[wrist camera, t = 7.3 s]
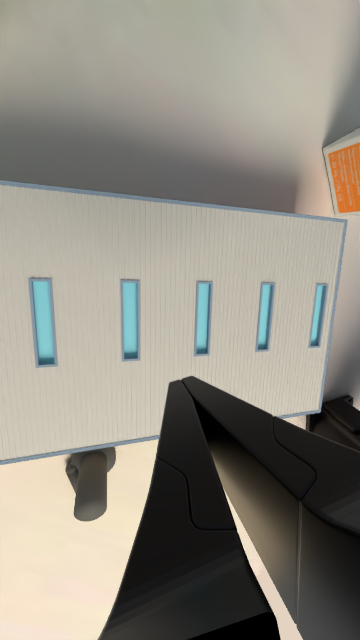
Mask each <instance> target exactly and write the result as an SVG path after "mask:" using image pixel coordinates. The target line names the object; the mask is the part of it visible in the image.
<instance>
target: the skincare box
mask: <svg viewBox="0 0 360 640" xmlns="http://www.w3.org/2000/svg"><path fill="white" fill-rule="evenodd" d="M323 153H324V157H325V161H326V167H327V172H328V177H329V182H330V188H331V194H332V200H333V205H334V212H335V216H336V217H341V216H354V215H360V127H359V128H357V129H356V130H354V131H352V132H350V133H348V134H347V135H345V136H343V137H342V138H340V139H338V140H337V141H335V142H333V143H332V144H330V145H328V146H326V147H324V148H323Z"/></svg>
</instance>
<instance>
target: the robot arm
mask: <svg viewBox="0 0 360 640" xmlns="http://www.w3.org/2000/svg"><path fill="white" fill-rule="evenodd" d="M223 488H224V489H225V491H226V493H227V495H228V497H229V499H230V501H231V503H232V505H233V507H234V509H235V510H236V512H237V514H238V516H239V518H240V520H241V522H242V524H243V526H244V528H245V529H246V531H247V533H248V535H249V537H250V539H251V541H252V543H253V545H254V547H255V549H256V550H257V552H258V554H259V556H260V558H261V560H262V562H263V564H264V566H265V568H266V569H267V571H268V573H269V575H270V577H271V579H272V581H273V583H274V584H275V586H276V589H277V590H278V592H279V594H280V596H281V598H282V600H283V602H284V604H285V605H286V608H287V609H288V611H289V613H290V615H291V617H292V619H293V621H294V623H295V624H297V629H298V631H299V632H300V634H301V636H302V638H303V640H360V411H359V410H357V409H356V408H355V407H353V397H351V396H350V395H347V396H344V397H342V398H339V399H336V400H334V401H331V402H328V403H325V404H323V405H322V406H321V412H320V413H314V414H308V415H307V430H304V429H302V428H300V427H298V426H296V425H293V424H291V423H289V422H287V421H285V420H283V419H281V418H279V417H277V416H273V415H272V414H270V413H268V412H266V411H264V410H262V409H260V408H258V407H256V406H254V405H252V404H250V403H248V402H246V401H244V400H241V399H239V398H237V397H235V396H233V395H231V394H229V393H227V392H225V391H223V390H221V389H219V388H217V387H215V386H213V385H211V384H209V383H207V382H205V381H202V380H200V379H198V378H196V377H194V376H188V377H185V378H182V379H181V380H180V379H178V380H175V381H172V382H170V383H169V385H168V391H167V396H166V402H165V408H164V413H163V419H162V425H161V430H160V436H159V442H158V447H157V453H156V460H155V464H154V469H153V474H152V479H151V484H150V488H149V493H148V496H147V500H146V504H145V507H144V511H143V514H142V518H141V521H140V524H139V527H138V530H137V534H136V537H135V540H134V543H133V546H132V550H131V553H130V556H129V559H128V562H127V566H126V569H125V572H124V575H123V578H122V582H121V585H120V588H119V591H118V594H117V597H116V600H115V602H114V605H113V608H112V610H111V613H110V615H109V617H108V620H107V622H106V624H105V626H104V628H103V630H102V632H101V634H100V636H99V638H98V640H280V635H279V630H278V624H277V620H276V617H275V615H274V613H273V611H272V609H271V607H270V605H269V603H268V601H267V599H266V597H265V595H264V593H263V591H262V589H261V587H260V585H259V583H258V581H257V579H256V576H255V574H254V572H253V570H252V568H251V566H250V564H249V561H248V559H247V556H246V554H245V551H244V548H243V546H242V543H241V540H240V537H239V534H238V532H237V528H236V525H235V522H234V519H233V516H232V513H231V510H230V507H229V504H228V501H227V498H226V495H225V492H224V489H223Z"/></svg>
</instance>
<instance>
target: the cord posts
mask: <svg viewBox="0 0 360 640" xmlns="http://www.w3.org/2000/svg"><path fill="white" fill-rule="evenodd" d="M115 460H116V454H115V449H114V447H107V448H101V449H95V450H89V451H83V452H76V453H73V454H72V457H71V463H69V464H68V465H67V467H66V473H67V475H68V478H69V480H70V482H71V484H72V486H73V489H74V491H75V493H76V498H75V506H74V516H75V518H76V519H78V520H80V521H92V520H95V519H97V518H99V517H100V516H102V515H103V514H104V513H105V511H106V508H107V472H108V471H110V470H111V468H112V467H113V466H114V464H115Z"/></svg>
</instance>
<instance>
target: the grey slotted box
mask: <svg viewBox="0 0 360 640" xmlns="http://www.w3.org/2000/svg"><path fill="white" fill-rule="evenodd" d="M346 227H347V220H346V219H337V218H329V217H320V216H311V215H302V214H294V213H285V212H276V211H267V210H259V209H250V208H241V207H232V206H224V205H215V204H206V203H197V202H189V201H180V200H171V199H162V198H153V197H145V196H136V195H127V194H118V193H110V192H101V191H92V190H83V189H75V188H66V187H57V186H48V185H40V184H31V183H22V182H13V181H5V180H0V465H3V464H10V463H16V462H22V461H28V460H34V459H40V458H46V457H52V456H58V455H64V454H70V453H76V452H83V451H89V450H95V449H101V448H107V447H113V446H119V445H125V444H131V443H137V442H143V441H150V440H156V439H159V436H160V430H161V425H162V419H163V413H164V408H165V402H166V396H167V391H168V385H169V383H170V382H172V381H175V380H178V379H180V380H181V379H182V378H185V377H188V376H194V377H196V378H198V379H200V380H202V381H205V382H207V383H209V384H211V385H213V386H215V387H217V388H219V389H221V390H223V391H225V392H227V393H229V394H231V395H233V396H235V397H237V398H239V399H241V400H244V401H246V402H248V403H250V404H252V405H254V406H256V407H258V408H260V409H262V410H264V411H266V412H268V413H270V414H272V415H273V416H277V417H279V418H281V419H283V418H289V417H296V416H302V415H308V414H314V413H320V412H321V406H322V399H323V392H324V384H325V377H326V370H327V363H328V356H329V349H330V342H331V334H332V327H333V320H334V313H335V306H336V299H337V291H338V284H339V277H340V270H341V263H342V256H343V248H344V241H345V234H346Z"/></svg>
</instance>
